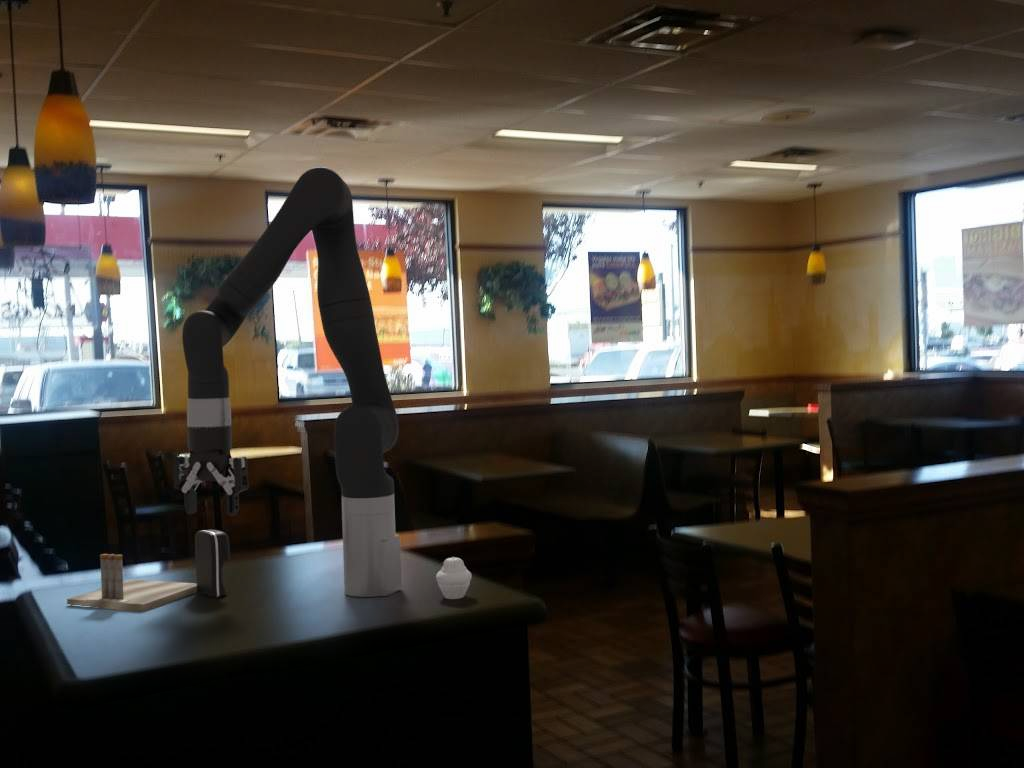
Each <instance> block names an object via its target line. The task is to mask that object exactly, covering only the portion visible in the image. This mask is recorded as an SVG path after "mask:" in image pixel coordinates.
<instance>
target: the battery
mask: <svg viewBox="0 0 1024 768" xmlns="http://www.w3.org/2000/svg"><path fill="white" fill-rule="evenodd" d="M230 549H231V548H230V541H229V536H228V534H227V533H226V532H224V531H221V530H219V529H218V530H217V529H206V530H205V529H202V530H199V531H196V533H195V536H194V555H195V556H194V557H195V559H194V560H195V574H196V575H195V576H196V578H195V579H196V583H197V593H199V594H200V595H204V596H208V597H211V598H218V597H222V596H225V595H228V590H226V588H225V586H224V583H223V578H222V577H223V575H222V574H223V567H224V566H225V562H226V561H227V562H228V561H230V560H231V559H230V557H231V552H230Z"/></svg>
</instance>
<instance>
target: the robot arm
mask: <svg viewBox="0 0 1024 768" xmlns="http://www.w3.org/2000/svg"><path fill="white" fill-rule="evenodd" d="M353 204H354V203H353V196H352V191H351V188H349V186H348V184H347V183H346V182H345V181H344V179H343V178H342V177H341V176H340V175H339V173H336V171H334V170H333V169H330V168H328V167H323V166H316V167H311V168H310V169H307V170H306V171H305V172H303V173H302V174H301V175H300V176H299V177H298V180H296V182H295V183H294V186H292V188H291V190H290V191H289V193H288V196H286V199H285V201H283V203H282V206H281V207H280V209H279V210H278V212H277V213H276V214H275V216H274V218H273V219H272V220H271V222H270V223H269V225H268V226H267V228H266V229H265V230H264V232H263V233H262V234H261V236H260V237H259V238H258V239H257V241H256V242H254V245H253V246H252V247H251V248H250V249H249V250H248V252H247V253H246V254H245V255H244V256H243V257H242V258H241V260H240V261H239V262H238V263H237V264H236V265H235V267H234V268H233V269H232V270H231V271H230V273H228V275H227V276H226V277H225V278H224V280H223V281H222V282H221V283H220V285H219V287H218V288H217V294H216V296H215V297H214V298H213V300H212V301H211V302H210V303H209V305H208V306H207V307H205V309H204V310H197V311H194V312H192V313H191V314H189V316H187V317H186V319H185V321H184V323H183V326H182V336H181V339H182V347H183V349H182V350H183V354H184V359H185V364H186V368H187V397H188V398H187V409H186V423H187V427H186V428H187V449H188V450H189V452H190V453H189V456H188V455H187V454H182V455H177V456H175V457H174V458H173V459H174V460H173V489H174V490H179V491H181V492H182V493H183V495H184V496H183V503H184V504H183V505H184V506H183V507H184V511H185V512H186V514H187V515H194V514H197V512H198V496H197V494H198V493H197V491H196V490H197V488H199V485H200V484H201V483H203V481H204V482H205V481H210V482H217V483H218V485H219V486H222V488H223V489H224V491H225V492H226V495H225V498H226V499H225V503H226V504H225V505H226V516H227V517H232V516H237V515H238V512H239V510H240V493H242V492H244V491H246V490H247V491H248V489H249V488H250V484H249V471H248V470H249V469H248V459H247V457H246V456H245V455H243V456H238V457H232V455H231V451H232V446H233V439H232V437H233V436H232V433H233V432H232V407H231V403H230V401H231V400H230V378H229V377H230V376H229V372H228V369H227V367H226V366H225V363H224V350H223V349H224V348H223V347H225V346H226V345H227V344H228V343H229V342H230V341H231V339H232V338H233V337H234V336H235V335H236V333H237V332H238V330H239V329H240V328H241V326H242V324H243V323H244V322H245V320H246V318H247V316H248V314H249V313H251V311H252V310H253V309H254V308H255V307H256V306H257V305H258V304H259V302H261V300H262V299H263V298H264V297H265V296H266V294H267V293H268V292H269V291H270V289H272V287H273V286H274V285H275V283H276V282H277V281H278V279H279V277H280V276H281V274H282V273H283V271H284V269H285V268H286V266H287V263H288V262H289V260H290V258H291V257H292V254H293V253H294V251H296V249H297V247H298V246H299V245H300V243H301V242H303V240H304V238H305V237H306V236H307V235H308V234H309V233H310V232H312V236H313V241H314V244H315V249H316V254H317V278H316V279H317V281H316V285H317V286H316V287H317V288H316V289H317V290H316V291H317V302H318V309H319V315H320V316H319V317H320V320H321V321H320V322H321V325H322V330H323V333H324V336H325V337H324V338H325V340H326V342H327V344H328V347H329V348H330V350H331V352H332V353H333V356H334V357H335V359H336V361H337V362H338V364H339V365H340V367H341V370H342V372H343V374H344V375H345V378H346V381H347V384H348V387H349V388H348V389H349V393H350V399H351V405H350V406H347V407H346V408H344V409H342V411H341V412H340V413H338V415H337V418H336V419H335V423H334V429H333V448H334V449H333V450H334V459H335V474H336V478H337V481H338V483H339V485H340V489H341V490H340V492H341V520H342V522H341V523H342V524H341V525H342V527H341V528H342V553H343V554H342V556H343V584H344V595H347V596H349V597H350V596H351V597H356V598H360V597H361V598H370V597H371V598H373V597H387V596H389V595H392V594H393V593H396V592H397V591H400V590H402V587H403V586H402V585H403V584H402V560H401V558H402V556H401V537H400V535H396V516H395V515H396V513H395V512H396V511H395V509H396V508H395V505H396V503H395V481H394V478H393V477H392V476H391V475H389V474H388V473H387V471H386V468H385V464H384V463H385V462H384V453H387V452H389V451H390V450H392V448H394V446H395V445H396V443H397V440H398V437H399V435H400V434H399V433H400V425H399V417H398V414H397V412H396V408H395V405H394V401H393V399H392V395H391V392H390V388H389V386H388V381H387V377H386V374H385V371H384V364H383V358H382V354H381V348H380V343H379V338H378V334H377V329H376V321H375V316H374V310H373V305H372V300H371V295H370V292H369V289H368V288H369V287H368V284H367V283H368V282H367V279H366V276H365V271H364V268H363V265H362V261H361V258H360V255H359V251H358V244H357V238H356V229H355V219H354V217H355V216H354V205H353ZM189 467H190V468H191V470H190V473H189ZM230 468H231V469H233V472H232V470H231V469H230Z"/></svg>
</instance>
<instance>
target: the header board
mask: <svg viewBox="0 0 1024 768" xmlns="http://www.w3.org/2000/svg"><path fill="white" fill-rule="evenodd" d="M99 559H100V580H101V581H100V584H101V588H99V589H96V590H92V591H89V592H85V593H82V594H79V595H76V596H73V597H69V598H67V599H66V605H67V604H71V605H81V606H90V607H98V608H97V609H101V608H106V609H105V610H115V609H116V610H118V611H131V612H146V611H148V610H152V609H155V608H157V607H159V606H163V605H165V604H168V603H169V604H170V603H171V602H173V601H177V600H180V599H183V598H185V597H188V596H190V595H193V594H197V593H198V592H197V582H196V583H193V582H178V581H165V580H164V581H163V580H161V581H160V580H145V579H127V580H125V581H124V579H123V578H124V574H123V571H124V570H123V554H115V553H111V554H110V553H109V554H108V553H102V554H99Z"/></svg>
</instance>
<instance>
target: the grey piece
mask: <svg viewBox="0 0 1024 768" xmlns="http://www.w3.org/2000/svg"><path fill="white" fill-rule="evenodd" d="M442 565H443V566H442V567H440V569H439V571H438V572H437V573H436V575H435V579H436V582H437V586H438V587H439V589H440V591H441V593H442V594H443V596H444V598H445V599H447V600H458V599H462V598H464V597H465V596H466V593H467V591H468V589H469V587H470V584H471V580H472V578H473V574H472V573H471V571H469V569H467V567H466V566H465V563H464V560H462V559H461V558H459V557H455V556H452V557H448V558H446V559H445V560H444V561H443V563H442Z"/></svg>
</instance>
